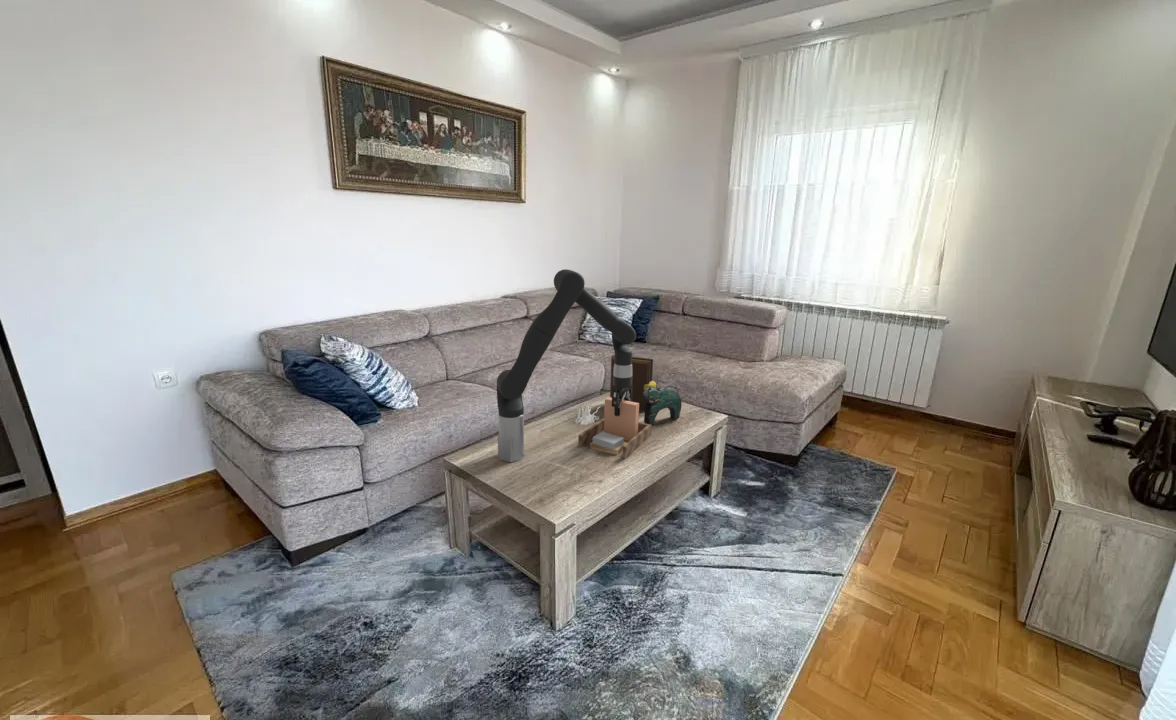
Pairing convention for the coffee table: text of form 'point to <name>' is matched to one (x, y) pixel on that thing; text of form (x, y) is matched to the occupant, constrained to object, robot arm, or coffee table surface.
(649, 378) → the book
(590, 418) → the white tentacle figurine
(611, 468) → the coffee table surface
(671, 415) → the ceramic cat
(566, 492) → the coffee table surface
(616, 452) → the offcut bottom
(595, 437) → the offcut top
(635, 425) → the salmon orange rectangular slab
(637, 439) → the wooden tray
